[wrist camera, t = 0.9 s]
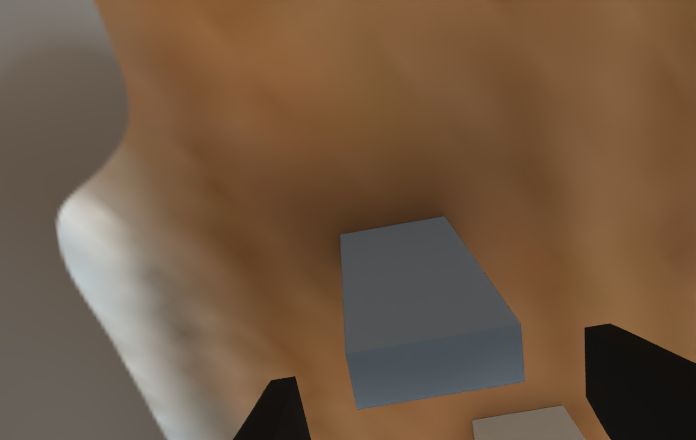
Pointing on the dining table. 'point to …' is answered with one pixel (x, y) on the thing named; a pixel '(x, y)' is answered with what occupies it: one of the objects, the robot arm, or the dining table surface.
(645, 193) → the dining table surface
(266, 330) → the dining table surface
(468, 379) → the slate tile
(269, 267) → the dining table surface
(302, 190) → the dining table surface
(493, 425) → the ivory tile
